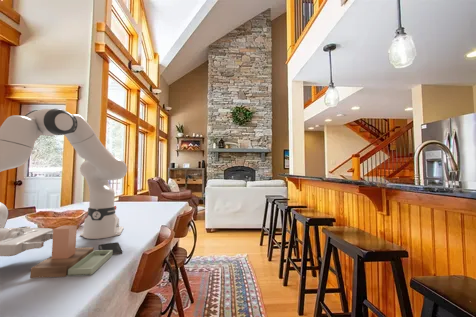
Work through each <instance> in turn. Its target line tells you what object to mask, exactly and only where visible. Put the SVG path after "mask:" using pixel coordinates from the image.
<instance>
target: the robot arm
mask: <svg viewBox="0 0 476 317" xmlns="http://www.w3.org/2000/svg"><path fill="white" fill-rule="evenodd" d="M41 136H45V137H46V136H47V137H52V136H64V137H65V138H66V139H67V140H68V142H69V143H70V145H71V146H72V147H73V149H74V151H75V152H76V153H77V155H78V156H79V157H80V158H81V159H84V160H85V161H83V162H82V163H81V164H80V168H79V169H80V170H79V171H80V174H81V175H82V176H83V177H84V179H85V181H86V184H87V186H88V191H89V202H88V203H89V205H88V208H87V209H88V210H87V217H86V218H84V221H83V223H84V224H83V230H82V231H83V232H81V233H80V234H79V236H80V237H83V238H85V239H88V240H89V239H91V240H94V239H96V240H97V239H106V238H111V237H115V236H116V237H117V236H120V235H121V234H122V233H123V230H124V226H121V225H120V218H119V217H118V216H117V214H116V210H117V205H115V194H116V192H115V189H113V188H112V187H111V185H110V182H109V181H116V180H122V179H124V178H125V176H126V175H127V172H128V166H127V163H125V161H123V160H122V159H120V158H118V157H117V156H115V155H114V154H113V153H112V152H111V151H109V149H108V148H106V146H104V144H103V143H102V142H101V140H100V138H99V137H98V135H97V133H96V132H95V130H94V129H93V127H92V126H91V125H90V124H89V122H87V120H86V119H85V118H84V117H83V116H82V115H80V114H75V113H72V114H71V113H70V112H69V111H67V110H65V109H61V108H43V109H35V110H32V111H29V112H28V113H26V114H25V115H15V114H14V115H10V116H8V117H6V119H5V120H4V121H3V123H2V124H1V125H0V173H1V172H3V171H7V170H12V169H15V168H18V167H21V166H23V165H25V164H26V163H27V162H28V160H29V159H30V157H31V155H32V152H33V150H34V148H35V147H34V146H35V144H36V141H37V140H38V138H39V137H41ZM9 213H10V212H9V207H8V206H7V205H6V204H5V203H3V202H1V201H0V257H13V256H17V255H19V254H21V253H23V252H25V251H29V250H35V249H41V248H43V247H44V246H45V245H44V244H45V243H46V242H47V241H50V240H53V229H54V228H48V227H31V226H29V225H28V226H21V227H20V226H19V227H6V224H7V221H8V217H9V215H10V214H9Z"/></svg>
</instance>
